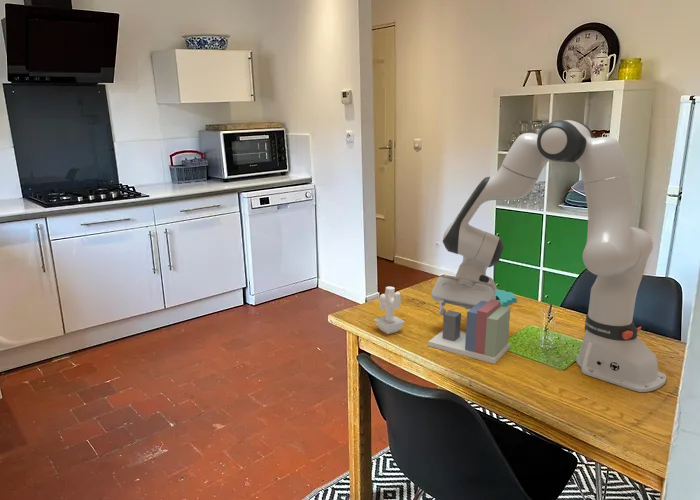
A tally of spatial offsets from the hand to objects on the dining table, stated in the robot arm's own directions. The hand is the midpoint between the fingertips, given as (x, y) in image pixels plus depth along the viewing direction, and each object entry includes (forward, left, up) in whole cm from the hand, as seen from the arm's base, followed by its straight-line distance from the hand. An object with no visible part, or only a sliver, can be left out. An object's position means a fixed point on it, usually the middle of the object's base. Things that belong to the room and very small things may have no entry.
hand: (455, 317), depth 165 cm
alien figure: (+18, -37, -8) cm, 42 cm away
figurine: (+17, +12, -8) cm, 22 cm away
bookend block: (-1, +2, -6) cm, 6 cm away
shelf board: (-6, 0, -7) cm, 10 cm away
